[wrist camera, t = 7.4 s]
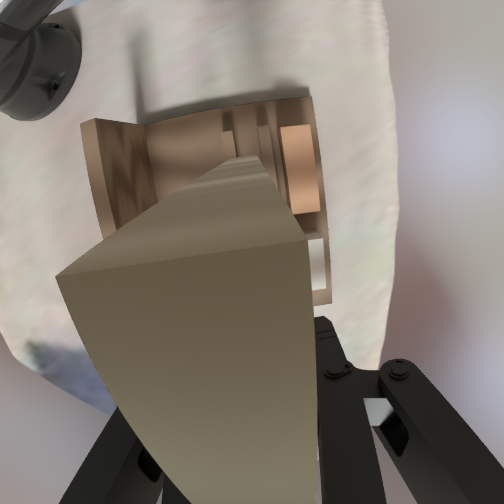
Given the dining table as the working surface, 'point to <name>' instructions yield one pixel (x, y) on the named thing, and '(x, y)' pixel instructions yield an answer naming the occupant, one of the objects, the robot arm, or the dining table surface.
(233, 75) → the dining table surface
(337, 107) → the dining table surface
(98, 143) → the walnut rack
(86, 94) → the dining table surface
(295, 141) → the cherry offcut
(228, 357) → the birch sheet
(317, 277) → the grey mdf offcut
